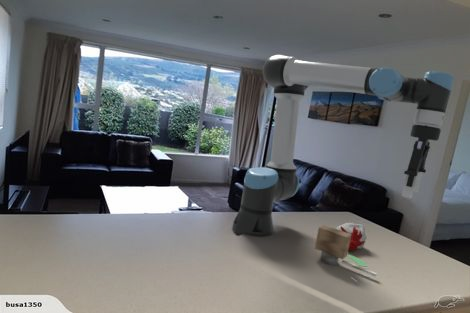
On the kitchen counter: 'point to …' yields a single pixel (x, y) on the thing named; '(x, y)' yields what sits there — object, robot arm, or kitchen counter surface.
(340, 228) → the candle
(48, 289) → the kitchen counter surface
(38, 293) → the kitchen counter surface
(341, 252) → the knob
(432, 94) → the robot arm
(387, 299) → the kitchen counter surface
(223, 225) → the kitchen counter surface
